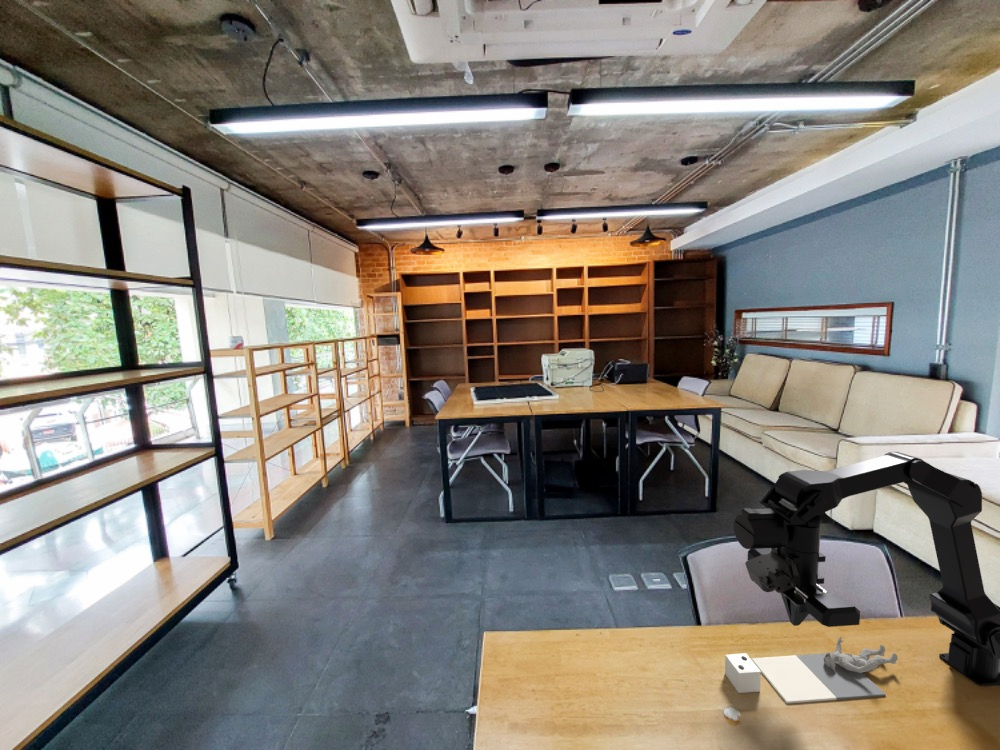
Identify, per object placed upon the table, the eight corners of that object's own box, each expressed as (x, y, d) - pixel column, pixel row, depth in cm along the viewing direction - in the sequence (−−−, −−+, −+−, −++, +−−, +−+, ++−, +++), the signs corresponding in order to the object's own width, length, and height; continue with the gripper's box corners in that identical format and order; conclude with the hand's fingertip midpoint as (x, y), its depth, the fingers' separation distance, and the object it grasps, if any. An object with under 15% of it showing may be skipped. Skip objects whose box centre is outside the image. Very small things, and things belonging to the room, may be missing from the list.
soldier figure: (914, 665, 70) (845, 654, 70) (911, 693, 70) (843, 681, 70) (874, 638, 78) (812, 628, 78) (872, 663, 77) (810, 653, 78)
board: (839, 654, 78) (839, 652, 77) (885, 696, 69) (885, 694, 69) (751, 660, 77) (751, 658, 77) (786, 703, 68) (786, 701, 68)
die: (745, 672, 74) (746, 652, 74) (760, 691, 70) (760, 671, 70) (724, 673, 74) (725, 654, 74) (738, 693, 70) (739, 672, 70)
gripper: (723, 521, 78) (721, 593, 80) (796, 580, 60) (792, 671, 62) (776, 518, 79) (773, 589, 81) (866, 575, 60) (859, 666, 62)
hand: (794, 624), depth 71 cm, fingers closed
